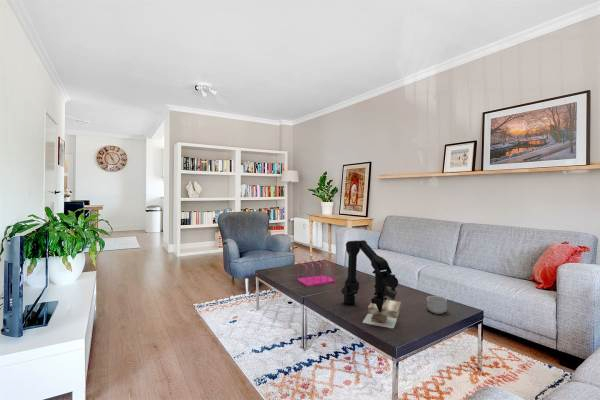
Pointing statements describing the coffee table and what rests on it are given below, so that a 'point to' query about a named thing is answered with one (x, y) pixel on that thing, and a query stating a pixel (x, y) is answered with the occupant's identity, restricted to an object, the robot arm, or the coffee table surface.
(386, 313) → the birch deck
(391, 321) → the sage mat
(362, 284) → the coffee table surface
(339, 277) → the coffee table surface
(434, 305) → the teacup
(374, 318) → the walnut tile
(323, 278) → the file sorter
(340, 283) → the coffee table surface
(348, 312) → the coffee table surface
